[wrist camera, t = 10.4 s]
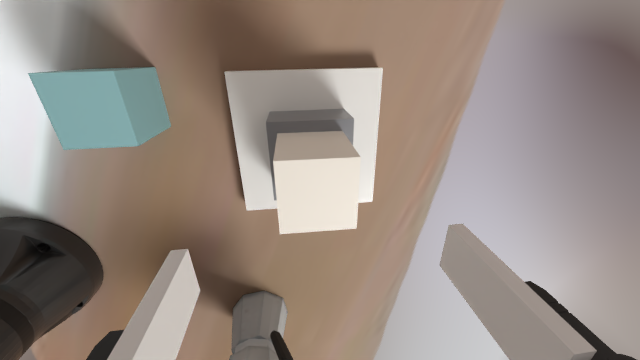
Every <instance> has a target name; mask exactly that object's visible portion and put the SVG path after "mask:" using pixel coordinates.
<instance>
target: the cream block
mask: <svg viewBox="0 0 640 360" xmlns="http://www.w3.org/2000/svg"><path fill="white" fill-rule="evenodd" d="M360 162H361V157H360V155H359V154H358V152H357V151H356V149H355V148H354V147H353V145H352V144H351V142H350V141H349V139H348V138H347V137H346V135H345V134H344V132H343V131H325V132H298V133H277V139H276V145H275V152H274V158H273V166H274V177H275V187H276V198H277V209H278V219H279V230H280V234H288V233H301V232H315V231H329V230H343V229H357V212H358V196H359V179H360Z"/></svg>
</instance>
